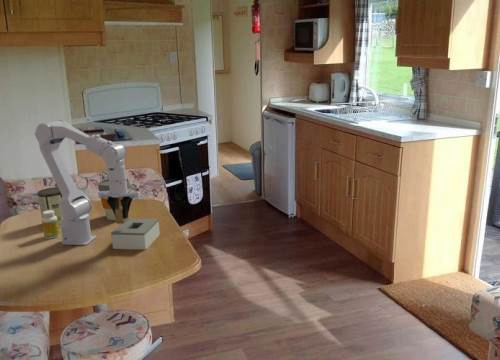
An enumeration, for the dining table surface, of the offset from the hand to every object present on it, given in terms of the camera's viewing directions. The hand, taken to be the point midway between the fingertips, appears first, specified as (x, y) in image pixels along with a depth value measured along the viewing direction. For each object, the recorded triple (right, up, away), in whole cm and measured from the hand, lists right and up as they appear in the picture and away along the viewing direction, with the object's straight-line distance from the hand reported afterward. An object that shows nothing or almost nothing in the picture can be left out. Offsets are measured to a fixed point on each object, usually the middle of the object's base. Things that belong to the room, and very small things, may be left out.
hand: (122, 217), depth 167 cm
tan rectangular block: (0, -1, 0) cm, 1 cm away
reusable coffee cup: (-11, -2, +34) cm, 36 cm away
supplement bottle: (-30, -8, +15) cm, 35 cm away
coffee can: (-34, -5, +28) cm, 45 cm away
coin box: (+4, -9, +6) cm, 12 cm away
